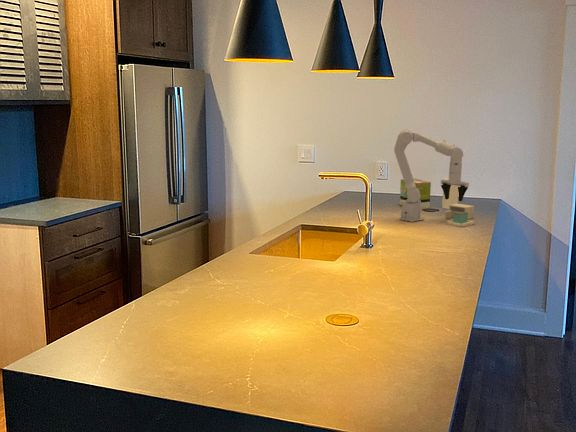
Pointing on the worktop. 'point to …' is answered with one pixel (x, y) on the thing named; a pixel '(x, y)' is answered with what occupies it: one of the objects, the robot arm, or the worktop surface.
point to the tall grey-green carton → (460, 217)
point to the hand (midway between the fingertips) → (453, 200)
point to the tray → (459, 223)
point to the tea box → (424, 192)
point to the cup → (450, 196)
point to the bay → (459, 210)
